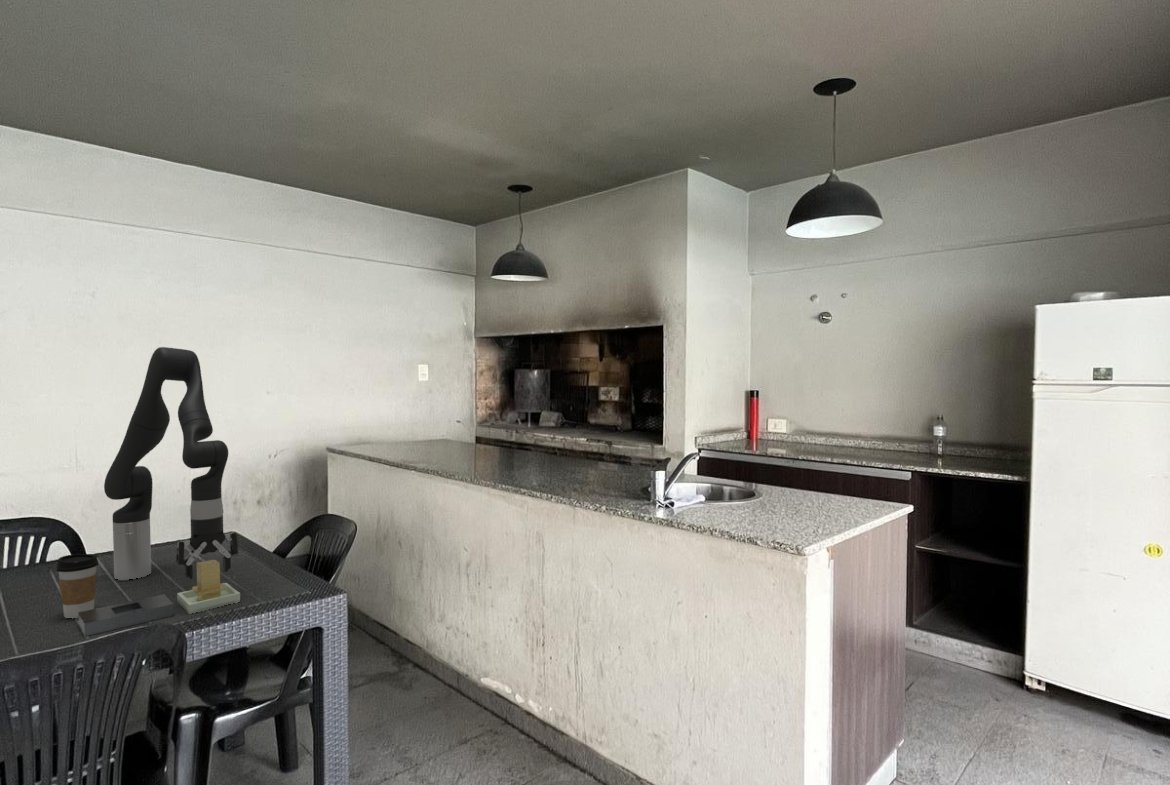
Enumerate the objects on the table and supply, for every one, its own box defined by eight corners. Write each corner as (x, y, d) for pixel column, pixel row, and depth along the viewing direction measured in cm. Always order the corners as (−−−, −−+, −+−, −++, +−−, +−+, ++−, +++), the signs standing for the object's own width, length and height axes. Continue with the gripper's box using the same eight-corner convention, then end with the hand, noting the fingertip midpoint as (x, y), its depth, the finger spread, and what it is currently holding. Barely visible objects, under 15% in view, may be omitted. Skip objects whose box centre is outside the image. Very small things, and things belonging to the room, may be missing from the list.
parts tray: (177, 602, 171) (177, 593, 171) (226, 591, 180) (226, 582, 180) (189, 614, 163) (189, 604, 163) (240, 602, 171) (240, 593, 171)
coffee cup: (73, 608, 167) (71, 552, 166) (107, 607, 167) (105, 551, 167) (49, 621, 158) (47, 562, 158) (85, 620, 159) (83, 561, 159)
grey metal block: (78, 624, 157) (78, 612, 156) (164, 605, 169) (164, 594, 169) (84, 636, 150) (84, 623, 149) (173, 615, 162) (173, 603, 162)
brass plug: (192, 599, 171) (191, 562, 171) (218, 593, 176) (217, 557, 176) (198, 605, 167) (197, 568, 166) (225, 599, 171) (224, 562, 171)
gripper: (231, 508, 178) (232, 566, 179) (172, 517, 168) (173, 577, 169) (240, 513, 173) (241, 572, 174) (179, 522, 163) (181, 584, 163)
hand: (208, 574), depth 171 cm, fingers open, 8 cm apart
